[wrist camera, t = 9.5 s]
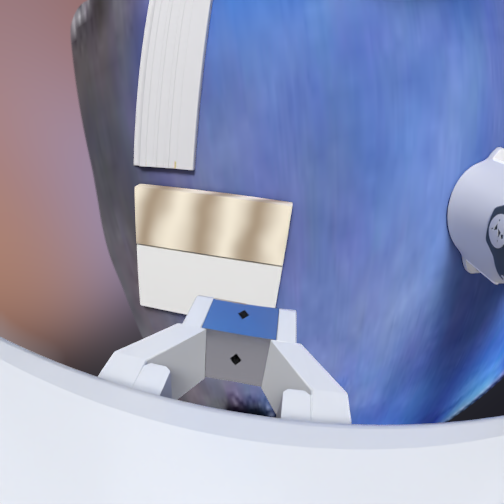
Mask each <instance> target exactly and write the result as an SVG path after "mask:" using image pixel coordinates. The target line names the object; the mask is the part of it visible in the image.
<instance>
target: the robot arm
mask: <svg viewBox="0 0 504 504" xmlns="http://www.w3.org/2000/svg"><path fill="white" fill-rule="evenodd" d="M447 219H448V228H449V233H450V236H451V238H452V241H453V242H454V244H455V246H456V247H457V248H458V250H459V251H460V253H461V255H462V260H463V265H464V268H465V270H466V271H468V272H469V273H482V274H483V275H484V276H485V277H487V278H488V279H489V280H490V281H491V282H492V283H494V284H496V285H498V284H499V283H504V148H502V147H498V148H496V149H495V150H494V151H493V152H492V153H491V154H490V156H489V157H488V158H487V159H486V160H484V161H482V162H480V163H477V164H475V165H474V166H472V167H471V168H469V169H468V170H467V171H466V172H465V173H464V174H463V175H462V176H461V177H460V179H459V180H458V182H457V184H456V185H455V187H454V189H453V192H452V194H451V197H450V201H449V206H448V216H447ZM205 377H209V378H215V379H221V380H228V381H234V382H239V383H244V384H250V385H255V386H261V388H262V390H263V392H264V394H265V395H266V397H267V399H268V401H269V403H270V404H271V406H272V408H273V410H274V412H275V413H276V418H274V417H267V416H260V415H253V414H246V413H240V412H234V411H228V410H223V409H218V408H212V407H207V406H203V405H198V404H193V403H189V402H184V401H180V400H177V399H178V398H180V397H181V396H182V395H184V394H185V393H186V392H188V391H189V390H190V389H191V388H193V387H194V386H195V385H197V384H198V383H199V382H200V381H202V380H203V379H204V378H205ZM0 504H504V416H498V417H491V418H483V419H475V420H467V421H456V422H445V423H429V424H405V425H362V424H351V417H350V409H349V401H348V394H347V392H346V391H345V390H344V389H343V388H342V387H341V386H340V385H339V384H338V383H337V382H336V381H335V380H334V379H333V378H332V377H331V376H330V374H329V373H328V372H327V371H326V370H325V369H324V368H323V367H322V366H321V365H320V364H319V363H318V362H317V361H316V359H315V358H314V357H313V356H312V355H311V354H310V353H309V352H308V351H307V350H306V349H305V348H304V347H303V345H302V344H298V343H296V311H295V310H289V309H280V308H271V307H263V306H256V305H248V304H245V303H240V302H234V301H229V300H224V299H219V298H214V297H208V296H202V295H198V296H197V297H196V298H195V300H194V302H193V304H192V306H191V308H190V310H189V312H188V314H187V316H186V318H185V320H184V322H183V324H179V323H177V324H175V325H173V326H171V327H169V328H166V329H164V330H162V331H160V332H158V333H155V334H153V335H151V336H149V337H147V338H144V339H142V340H140V341H138V342H135V343H133V344H131V345H129V346H126V347H124V348H122V349H120V350H118V351H115V352H114V353H113V355H112V356H111V358H110V359H109V361H108V362H107V364H106V365H105V367H104V368H103V369H102V371H101V373H100V374H99V375H98V377H96V376H93V375H90V374H88V373H85V372H82V371H79V370H77V369H74V368H71V367H69V366H66V365H63V364H61V363H58V362H56V361H53V360H51V359H48V358H46V357H44V356H41V355H39V354H36V353H34V352H32V351H29V350H27V349H25V348H23V347H21V346H19V345H16V344H14V343H12V342H10V341H8V340H6V339H4V338H2V337H0Z"/></svg>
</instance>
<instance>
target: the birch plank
mask: <svg viewBox="0 0 504 504" xmlns="http://www.w3.org/2000/svg"><path fill="white" fill-rule="evenodd" d="M291 212H292V202H285V201H279V200H272V199H265V198H258V197H251V196H243V195H236V194H228V193H220V192H212V191H203V190H195V189H186V188H177V187H167V186H157V185H147V184H139V185H137V186H136V187H135V220H136V242H137V243H139V244H145V245H151V246H157V247H164V248H170V249H176V250H183V251H189V252H195V253H202V254H208V255H215V256H221V257H228V258H234V259H241V260H247V261H254V262H260V263H267V264H273V265H280V266H283V260H284V255H285V249H286V243H287V237H288V231H289V224H290V218H291Z"/></svg>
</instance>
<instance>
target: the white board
mask: <svg viewBox="0 0 504 504" xmlns="http://www.w3.org/2000/svg"><path fill="white" fill-rule="evenodd" d="M137 258H138V277H139V292H140V305H143V306H147V307H152V308H157V309H161V310H166V311H171V312H176V313H181V314H186V315H187V314H188V312H189V310H190V308H191V306H192V304H193V302H194V300H195V298H196V297H197V296H198V295H202V296H208V297H214V298H219V299H224V300H229V301H234V302H240V303H245V304H248V305H256V306H263V307H271V308H275V306H276V301H277V295H278V289H279V283H280V278H281V272H282V266H280V265H273V264H267V263H260V262H254V261H247V260H241V259H234V258H228V257H221V256H215V255H208V254H202V253H195V252H189V251H183V250H176V249H170V248H164V247H157V246H151V245H145V244H139V243H138V244H137Z"/></svg>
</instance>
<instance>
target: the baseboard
mask: <svg viewBox="0 0 504 504" xmlns="http://www.w3.org/2000/svg"><path fill="white" fill-rule="evenodd" d="M212 2H213V0H150V1H149V7H148V13H147V19H146V25H145V32H144V39H143V46H142V54H141V63H140V72H139V82H138V93H137V106H136V122H135V142H134V165H138V166H144V167H161V168H174V169H184V170H194V169H195V159H196V145H197V132H198V120H199V109H200V99H201V89H202V79H203V70H204V61H205V53H206V45H207V37H208V30H209V22H210V15H211V8H212Z"/></svg>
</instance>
